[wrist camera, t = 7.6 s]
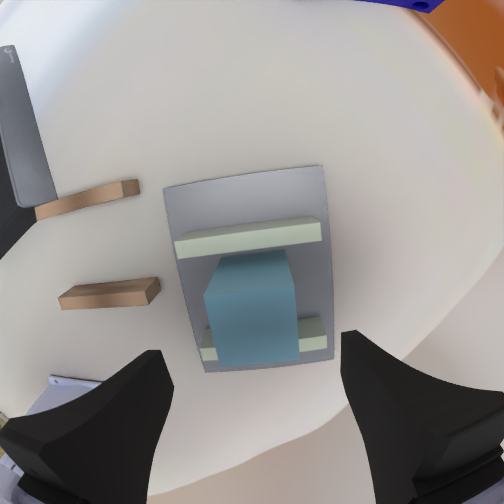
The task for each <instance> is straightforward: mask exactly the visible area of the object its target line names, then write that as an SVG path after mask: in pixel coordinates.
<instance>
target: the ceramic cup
mask: <svg viewBox="0 0 504 504" xmlns="http://www.w3.org/2000/svg"><path fill="white" fill-rule="evenodd" d="M8 420H9V419H8V418H7V417H6V416H4V415H3V414H2V413H1V412H0V430H1V429H2V427H3V426H4V425H5V424H6V422H7V421H8ZM4 453H5V451H4V450H3V449H2V448H1V446H0V459H1V458H2V456H3V455H4Z"/></svg>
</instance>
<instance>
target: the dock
mask: <svg viewBox="0 0 504 504" xmlns="http://www.w3.org/2000/svg"><path fill="white" fill-rule="evenodd" d="M163 195H164V200H165V206H166V212H167V217H168V222H169V228H170V233H171V238H172V243H173V248H174V252H175V257H176V262H177V266H178V271H179V275H180V280H181V284H182V288H183V292H184V297H185V301H186V305H187V309H188V313H189V317H190V320H191V324H192V328H193V332H194V335H195V339H196V343H197V346H198V350H199V353H200V357H201V360H202V364H203V367H204V371H205V372H225V371H241V370H253V369H264V368H274V367H283V366H291V365H299V364H306V363H313V362H320V361H326V360H332V359H334V304H333V278H332V260H331V245H330V232H329V220H328V209H327V199H326V190H325V181H324V173H323V166H312V167H302V168H293V169H284V170H275V171H268V172H260V173H253V174H245V175H239V176H232V177H226V178H219V179H213V180H207V181H202V182H196V183H190V184H185V185H180V186H175V187H169V188H164V189H163ZM282 249H284V250H285V254H286V257H287V261H288V264H289V268H290V272H291V275H292V279H293V283H294V289H295V300H296V312H297V324H298V337H299V351H300V360H292V361H283V362H274V363H264V364H253V365H240V366H225V367H220V365H219V361H218V357H217V353H216V349H215V345H214V341H213V337H212V332H211V328H210V324H209V319H208V315H207V310H206V306H205V301H204V297H203V295H204V293H205V291H206V289H207V287H208V284H209V282H210V280H211V278H212V276H213V274H214V272H215V269H216V267H217V265H218V263H219V261H220V259H221V257H225V256H233V255H242V254H250V253H258V252H266V251H274V250H282Z"/></svg>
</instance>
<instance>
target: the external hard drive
mask: <svg viewBox="0 0 504 504" xmlns="http://www.w3.org/2000/svg"><path fill="white" fill-rule="evenodd" d="M55 200H58V198H57V194H56V191H55V187H54V184H53V180H52V177H51V174H50V170H49V167H48V163H47V160H46V156H45V153H44V149H43V146H42V142H41V138H40V135H39V131H38V127H37V124H36V120H35V116H34V113H33V108H32V105H31V101H30V98H29V94H28V91H27V87H26V83H25V79H24V76H23V72H22V69H21V65H20V62H19V59H18V56H17V53H16V50H15V47H14V45H9V46H3V47H0V259H1V258H2V257H3V256H4V255H5V254H6V253H7V251H8V250H9V249H10V248H11V247H12V246H13V245H14V244H15V243H16V242H17V241H18V239H19V238H20V237H21V236H22V235H23V234H24V233H25V232H26V231H27V230H28V229H29V228H30V227H31V226H32V225H33V224H34V223H35V222H36V221H37V218H36V213H35V207H38V206H41V205H43V204H46V203H49V202H52V201H55Z"/></svg>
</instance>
